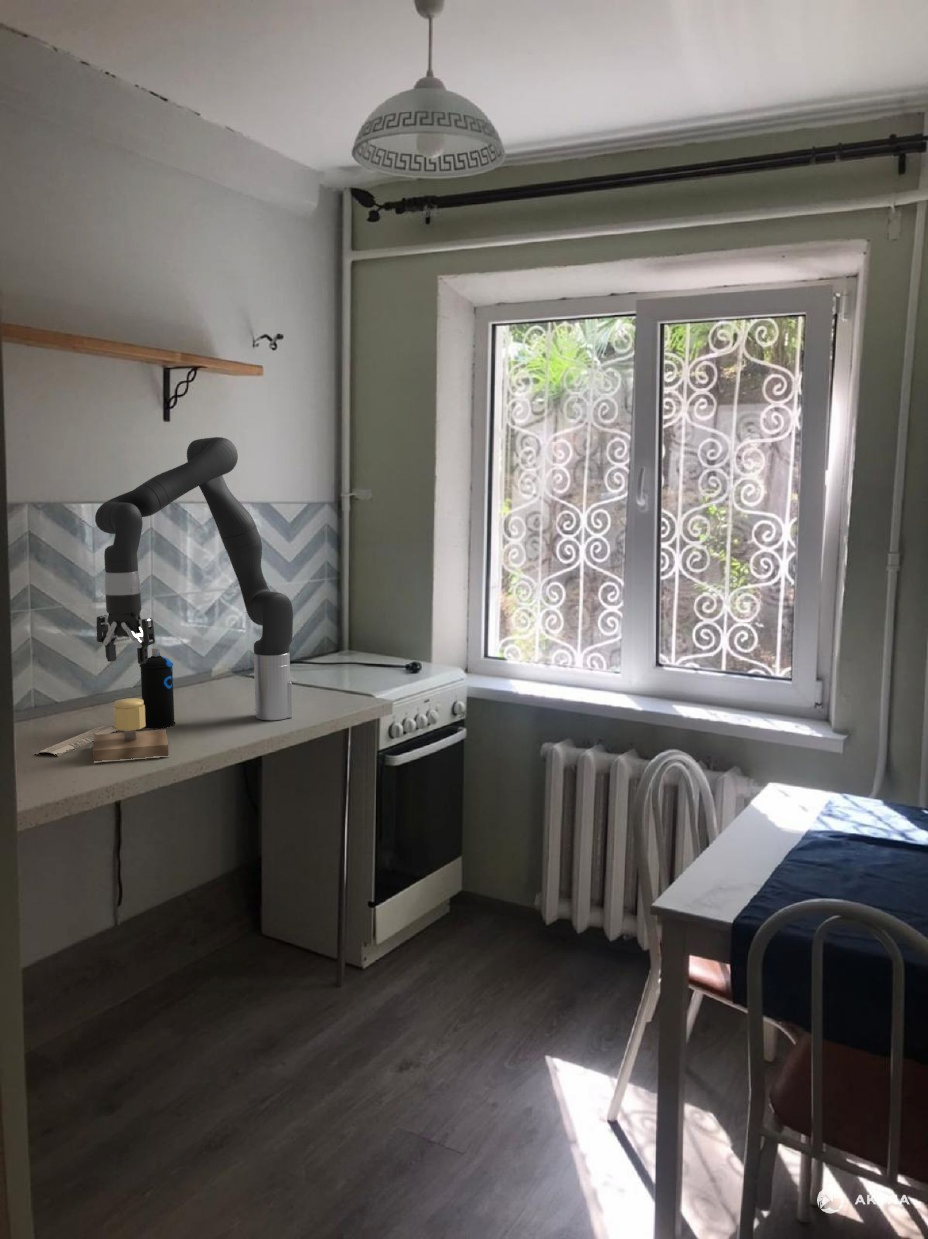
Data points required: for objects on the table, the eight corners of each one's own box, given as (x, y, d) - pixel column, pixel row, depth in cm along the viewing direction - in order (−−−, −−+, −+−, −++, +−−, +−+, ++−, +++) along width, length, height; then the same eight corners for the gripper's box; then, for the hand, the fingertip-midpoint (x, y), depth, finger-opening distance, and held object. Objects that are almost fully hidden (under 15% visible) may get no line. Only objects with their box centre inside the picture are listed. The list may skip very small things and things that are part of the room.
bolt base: (165, 741, 239) (164, 696, 237) (168, 757, 226) (166, 710, 224) (94, 747, 234) (92, 701, 232) (93, 763, 220) (90, 715, 219)
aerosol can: (141, 730, 249) (137, 651, 246) (142, 722, 257) (139, 645, 254) (175, 728, 251) (172, 650, 249) (175, 720, 259) (172, 644, 256)
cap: (148, 728, 228) (147, 702, 227) (119, 731, 224) (118, 705, 223) (139, 722, 233) (138, 697, 232) (111, 725, 230) (110, 700, 229)
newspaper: (96, 732, 250) (95, 725, 249) (121, 734, 248) (120, 727, 248) (34, 758, 227) (34, 750, 227) (61, 760, 225) (61, 753, 225)
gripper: (159, 590, 225) (163, 661, 227) (108, 588, 230) (112, 657, 232) (137, 595, 218) (141, 667, 220) (85, 592, 223) (90, 663, 225)
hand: (127, 662), depth 226 cm, fingers open, 8 cm apart
